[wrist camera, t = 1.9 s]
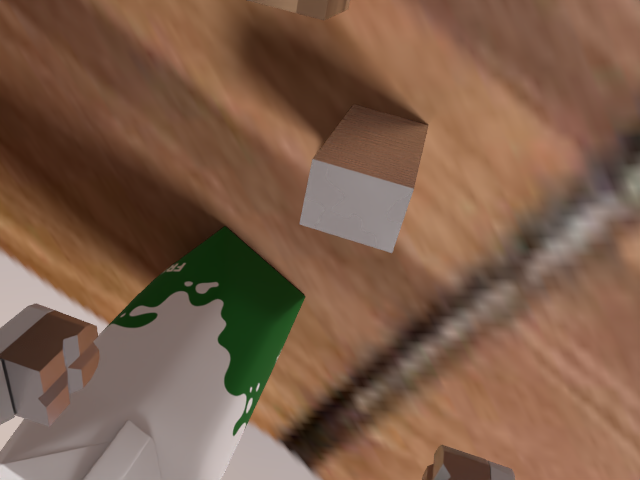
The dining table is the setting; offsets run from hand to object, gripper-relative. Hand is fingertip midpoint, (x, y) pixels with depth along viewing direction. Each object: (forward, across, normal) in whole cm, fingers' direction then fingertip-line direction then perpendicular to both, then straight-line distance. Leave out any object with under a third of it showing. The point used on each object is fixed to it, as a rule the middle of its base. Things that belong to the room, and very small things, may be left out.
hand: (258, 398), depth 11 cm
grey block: (+18, 0, +2) cm, 18 cm away
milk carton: (+18, +7, +13) cm, 23 cm away
